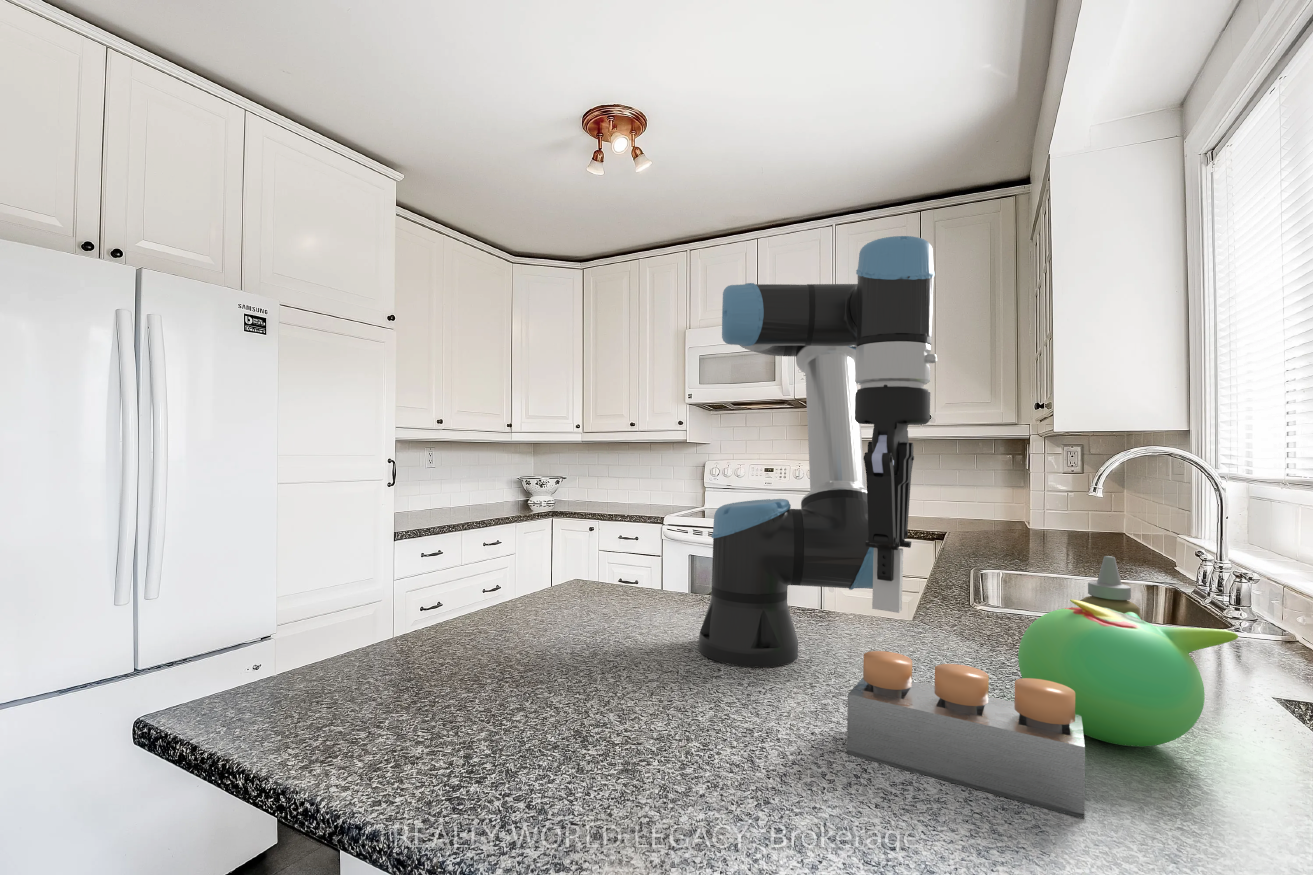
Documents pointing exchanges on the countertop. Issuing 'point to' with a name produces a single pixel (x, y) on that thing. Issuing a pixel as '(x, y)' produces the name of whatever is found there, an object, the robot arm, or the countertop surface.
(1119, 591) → the squeeze bottle
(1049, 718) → the knob
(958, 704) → the knob middle
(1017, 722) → the mount
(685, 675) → the countertop surface
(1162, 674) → the toy bird
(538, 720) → the countertop surface
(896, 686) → the knob
